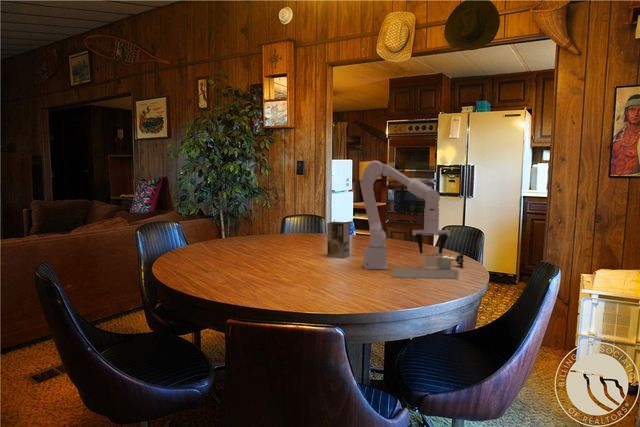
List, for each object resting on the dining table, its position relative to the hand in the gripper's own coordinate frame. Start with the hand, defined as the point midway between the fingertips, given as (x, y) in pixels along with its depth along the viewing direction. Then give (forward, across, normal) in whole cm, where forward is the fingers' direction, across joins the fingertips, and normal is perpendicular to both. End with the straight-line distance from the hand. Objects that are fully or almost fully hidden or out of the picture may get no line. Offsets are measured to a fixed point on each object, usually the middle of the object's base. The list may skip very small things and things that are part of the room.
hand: (430, 253), depth 172 cm
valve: (+7, +9, +8) cm, 14 cm away
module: (+7, 0, -1) cm, 7 cm away
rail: (+7, -4, -10) cm, 13 cm away
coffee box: (+7, -38, +25) cm, 46 cm away
